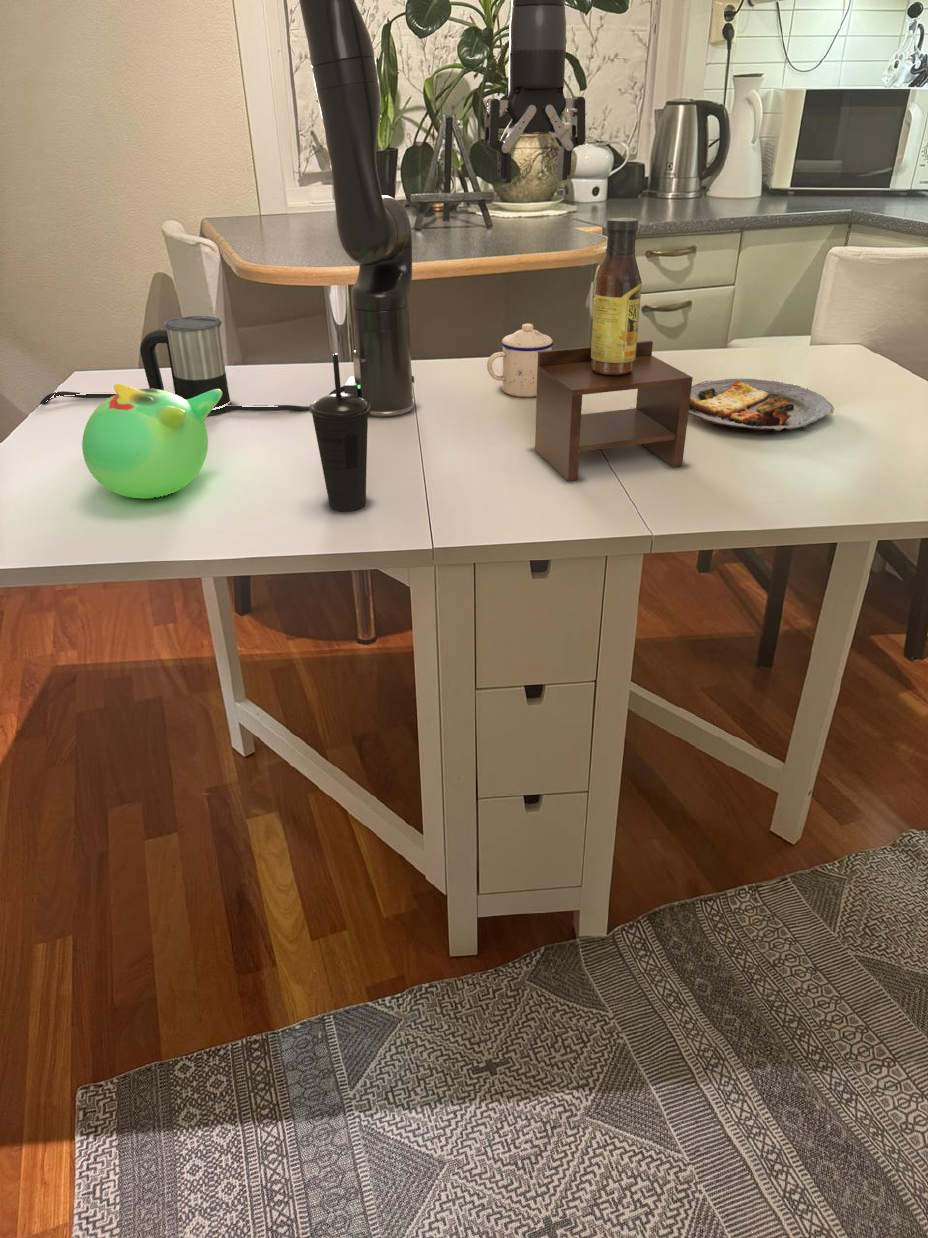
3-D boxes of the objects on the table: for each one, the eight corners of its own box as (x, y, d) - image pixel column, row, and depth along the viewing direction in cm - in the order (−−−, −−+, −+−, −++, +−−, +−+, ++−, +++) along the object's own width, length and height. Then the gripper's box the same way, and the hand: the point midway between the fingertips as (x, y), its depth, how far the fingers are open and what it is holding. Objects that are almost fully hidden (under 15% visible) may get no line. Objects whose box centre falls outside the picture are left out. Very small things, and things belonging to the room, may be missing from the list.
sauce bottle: (633, 378, 126) (646, 222, 116) (588, 376, 127) (597, 221, 117) (635, 365, 131) (648, 215, 121) (591, 363, 132) (600, 215, 122)
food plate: (769, 450, 137) (773, 428, 136) (647, 414, 153) (649, 393, 151) (854, 414, 151) (858, 393, 150) (734, 384, 167) (737, 365, 165)
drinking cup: (385, 496, 124) (376, 348, 114) (362, 519, 118) (350, 364, 108) (334, 490, 126) (321, 344, 116) (309, 511, 120) (292, 359, 110)
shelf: (567, 481, 128) (573, 375, 120) (534, 450, 139) (537, 350, 131) (682, 465, 133) (694, 362, 125) (641, 436, 143) (650, 340, 136)
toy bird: (123, 466, 135) (102, 367, 127) (236, 466, 134) (221, 367, 127) (75, 517, 119) (47, 408, 112) (202, 517, 119) (183, 407, 111)
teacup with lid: (539, 380, 170) (541, 316, 164) (559, 394, 163) (562, 327, 157) (479, 387, 167) (478, 322, 161) (496, 402, 159) (496, 334, 153)
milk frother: (230, 398, 163) (218, 313, 155) (241, 425, 150) (227, 334, 143) (148, 407, 159) (131, 320, 152) (151, 436, 146) (132, 342, 139)
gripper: (575, 47, 127) (569, 176, 135) (478, 48, 123) (478, 180, 131) (597, 46, 120) (590, 181, 129) (496, 46, 117) (495, 185, 125)
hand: (533, 181), depth 130 cm, fingers open, 8 cm apart
